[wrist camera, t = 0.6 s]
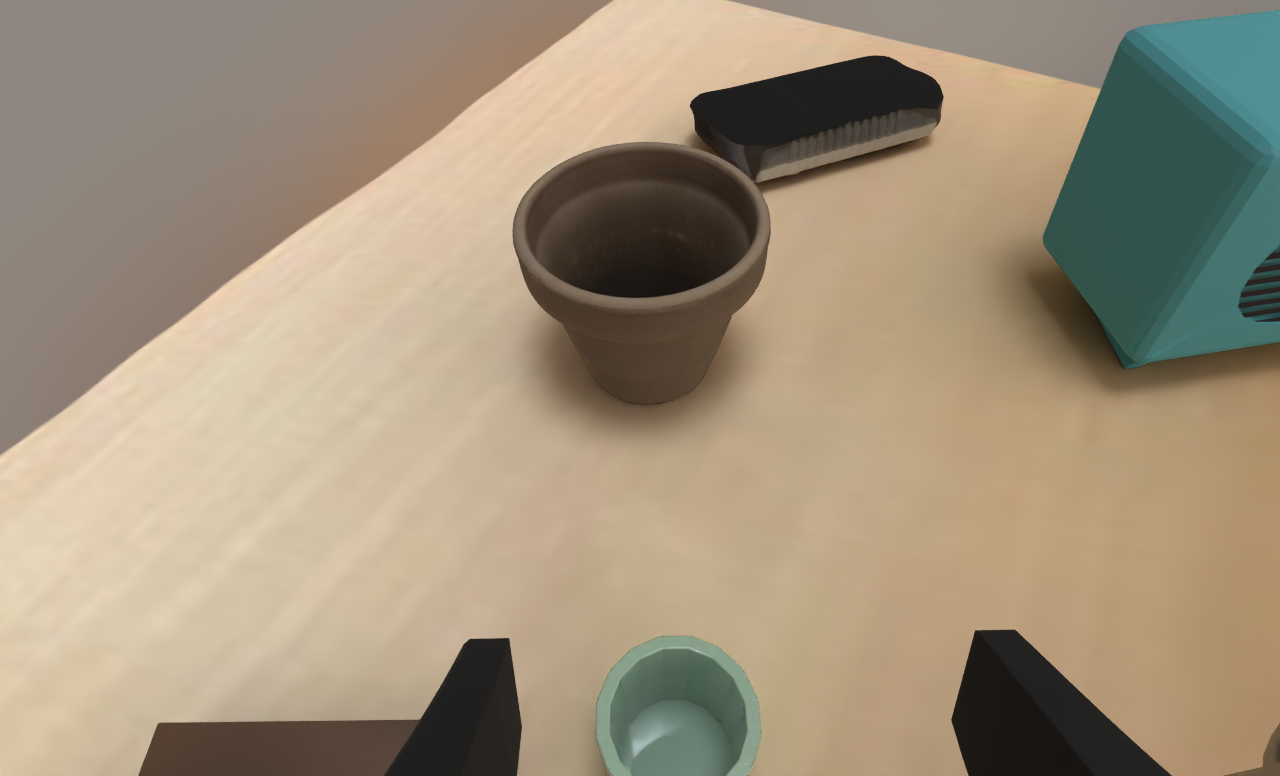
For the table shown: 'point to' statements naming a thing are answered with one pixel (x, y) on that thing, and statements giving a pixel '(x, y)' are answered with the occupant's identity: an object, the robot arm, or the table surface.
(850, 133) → the black sponge
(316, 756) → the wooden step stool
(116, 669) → the table surface
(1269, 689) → the table surface
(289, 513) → the table surface
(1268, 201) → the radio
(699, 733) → the pencil cup
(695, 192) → the flower pot
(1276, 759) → the handle
